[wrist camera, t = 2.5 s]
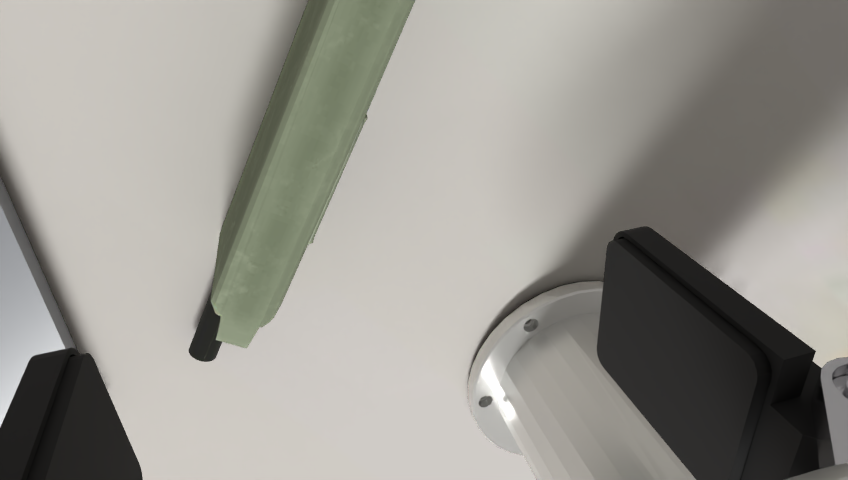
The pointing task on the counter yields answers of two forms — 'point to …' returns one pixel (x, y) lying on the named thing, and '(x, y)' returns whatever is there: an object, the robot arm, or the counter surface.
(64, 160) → the counter surface
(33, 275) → the charging dock
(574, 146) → the counter surface
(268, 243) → the handheld radio
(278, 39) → the counter surface
